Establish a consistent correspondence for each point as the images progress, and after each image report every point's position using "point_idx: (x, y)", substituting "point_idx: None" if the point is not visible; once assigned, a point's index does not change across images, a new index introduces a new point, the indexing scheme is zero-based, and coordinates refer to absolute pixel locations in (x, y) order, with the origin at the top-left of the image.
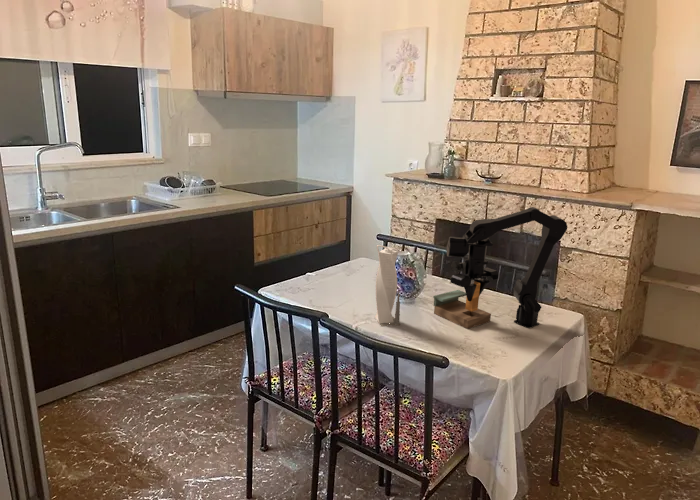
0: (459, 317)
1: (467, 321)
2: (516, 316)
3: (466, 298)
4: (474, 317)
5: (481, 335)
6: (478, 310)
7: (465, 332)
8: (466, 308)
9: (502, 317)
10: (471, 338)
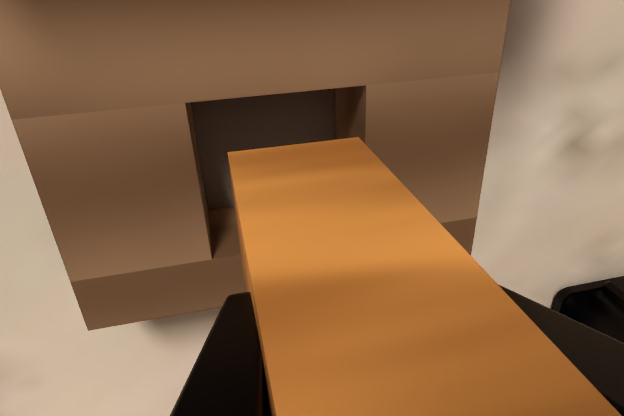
0: (46, 212)
1: (87, 320)
2: (620, 300)
3: (246, 251)
4: (233, 282)
5: (148, 390)
6: (444, 139)
7: (38, 319)
8: (231, 179)
9: (590, 187)
10: (21, 413)
